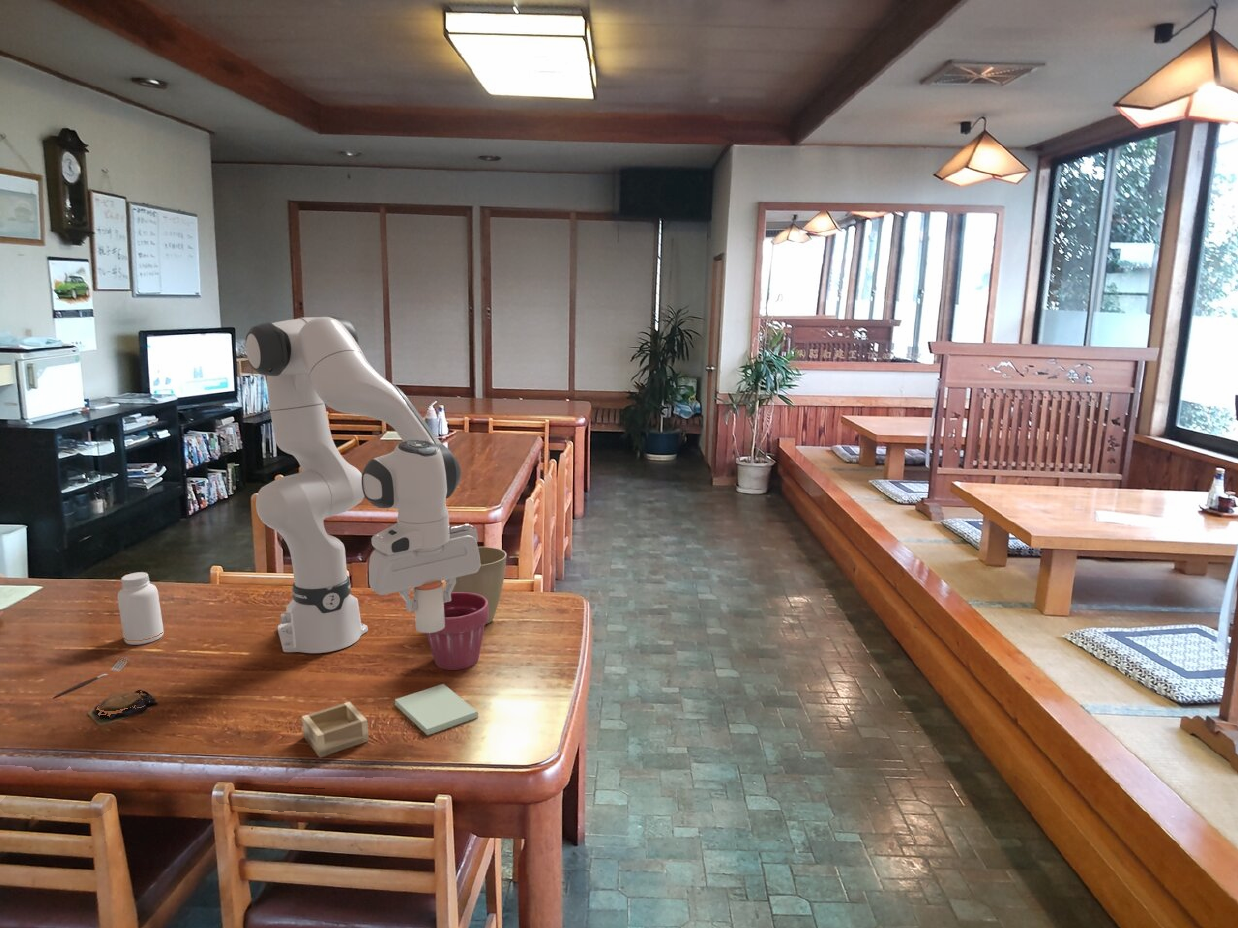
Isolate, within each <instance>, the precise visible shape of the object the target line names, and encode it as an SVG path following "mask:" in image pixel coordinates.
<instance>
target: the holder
mask: <svg viewBox="0 0 1238 928" xmlns="http://www.w3.org/2000/svg"><path fill="white" fill-rule="evenodd" d="M301 723H302V733H303V738H304V739H305V741H306V742H307V743H308V745H309V746H310V748H312V751H314V752H315V754H316V755H317V756H318V758H320V759H321V758H325V757H326V756H329V755H333V754H335V753H338V752H341V751H344V750H347V749H349V748H353V747H355V746H359V745H362V744H364V743H367V742H369V741H370V737H369V726H368V725H369V724H368V720H367V718H366V717H365V716H364V715H363V714H362V713H361V712H360V711H359V710H358V709H357V708H356V707H355V706H354V705H353V704H352V702H351V701H346V702H344V703H340V704H336V705H334V706H331V707H328V708H324V709H322V710H317V711H315V712H311V713H308V714H304V715H303V716H301Z"/></svg>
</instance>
